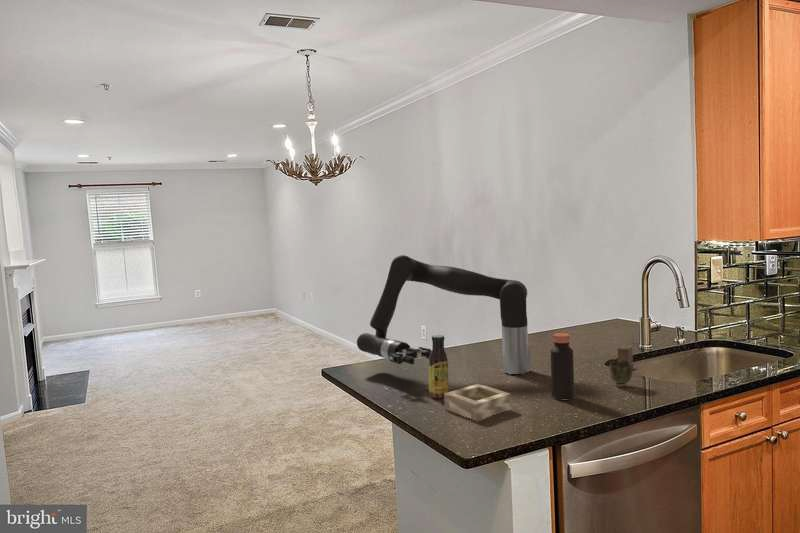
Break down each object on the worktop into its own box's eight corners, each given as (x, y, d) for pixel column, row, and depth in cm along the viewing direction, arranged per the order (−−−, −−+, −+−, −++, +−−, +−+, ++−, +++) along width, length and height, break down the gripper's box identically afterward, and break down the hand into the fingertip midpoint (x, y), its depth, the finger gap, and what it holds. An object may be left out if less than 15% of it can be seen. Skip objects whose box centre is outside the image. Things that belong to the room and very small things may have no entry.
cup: (633, 383, 194) (632, 360, 193) (634, 390, 187) (633, 366, 186) (609, 382, 196) (608, 359, 195) (609, 389, 189) (609, 365, 189)
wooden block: (617, 369, 211) (617, 347, 211) (622, 366, 214) (622, 345, 213) (628, 371, 209) (628, 348, 208) (633, 368, 211) (632, 346, 211)
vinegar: (570, 402, 179) (569, 337, 177) (548, 399, 183) (547, 336, 181) (576, 395, 185) (575, 333, 183) (555, 392, 188) (554, 331, 186)
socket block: (478, 399, 186) (477, 383, 185) (511, 410, 174) (510, 393, 174) (444, 409, 178) (444, 393, 177) (476, 421, 166) (476, 404, 166)
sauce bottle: (435, 400, 186) (433, 339, 184) (425, 395, 192) (423, 335, 190) (453, 396, 189) (450, 336, 187) (442, 391, 195) (440, 333, 193)
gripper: (378, 344, 205) (405, 351, 191) (411, 337, 213) (439, 344, 200) (379, 365, 205) (407, 374, 192) (412, 357, 213) (440, 365, 200)
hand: (423, 358), depth 196 cm, fingers open, 8 cm apart
